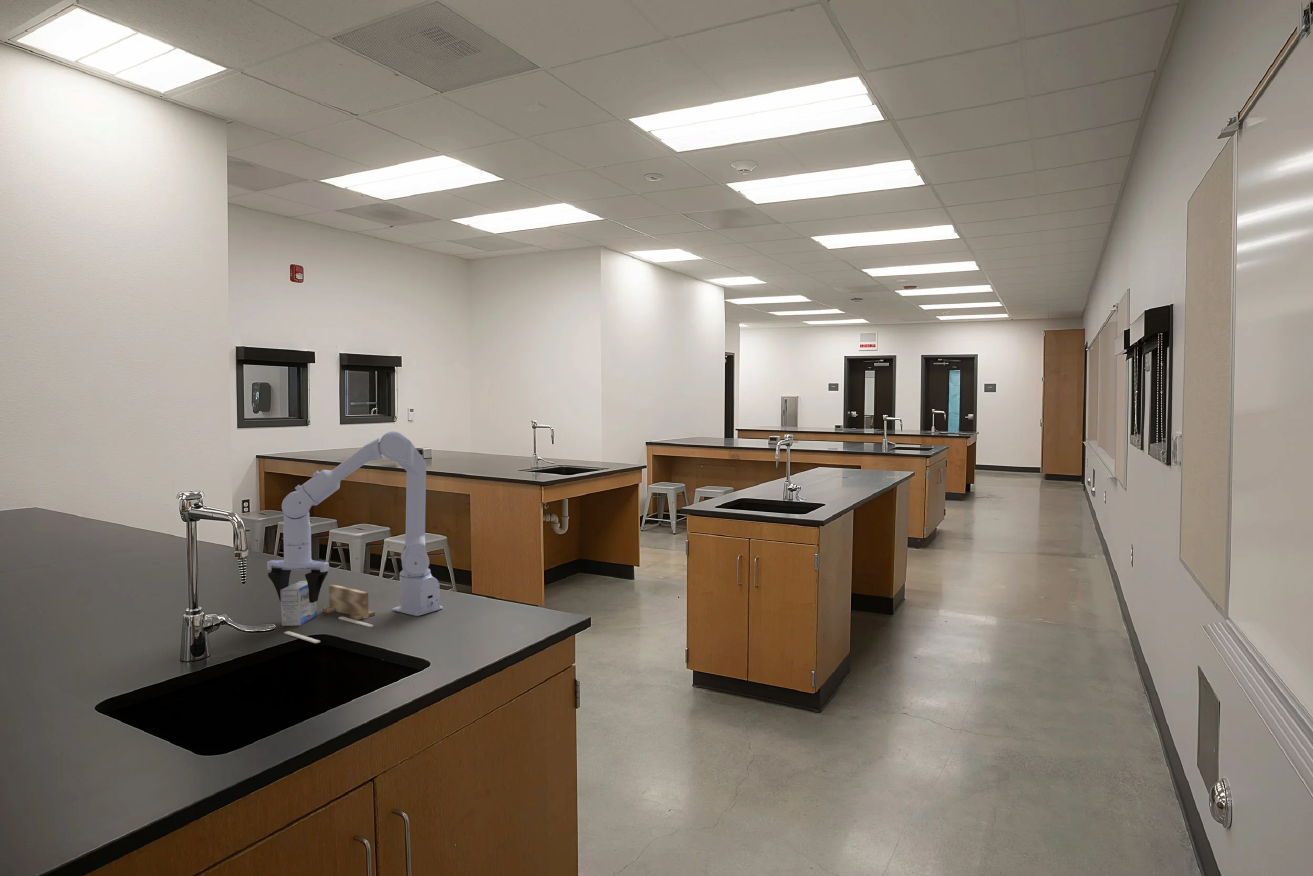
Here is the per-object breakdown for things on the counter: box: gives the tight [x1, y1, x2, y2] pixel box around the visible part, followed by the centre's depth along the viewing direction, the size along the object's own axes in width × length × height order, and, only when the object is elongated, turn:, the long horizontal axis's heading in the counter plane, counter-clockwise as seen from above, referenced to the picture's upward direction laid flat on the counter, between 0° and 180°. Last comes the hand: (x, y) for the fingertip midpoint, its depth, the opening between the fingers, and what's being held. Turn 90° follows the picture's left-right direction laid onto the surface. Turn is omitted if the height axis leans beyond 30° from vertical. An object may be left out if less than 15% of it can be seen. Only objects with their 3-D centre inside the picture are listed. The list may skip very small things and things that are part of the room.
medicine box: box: [280, 580, 318, 627], centre depth 169 cm, size 8×4×9 cm, turn 179°
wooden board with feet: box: [322, 584, 376, 621], centre depth 175 cm, size 14×5×6 cm, turn 57°
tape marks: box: [283, 616, 374, 644], centre depth 162 cm, size 12×14×1 cm
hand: (298, 601), depth 168 cm, fingers open, 7 cm apart
